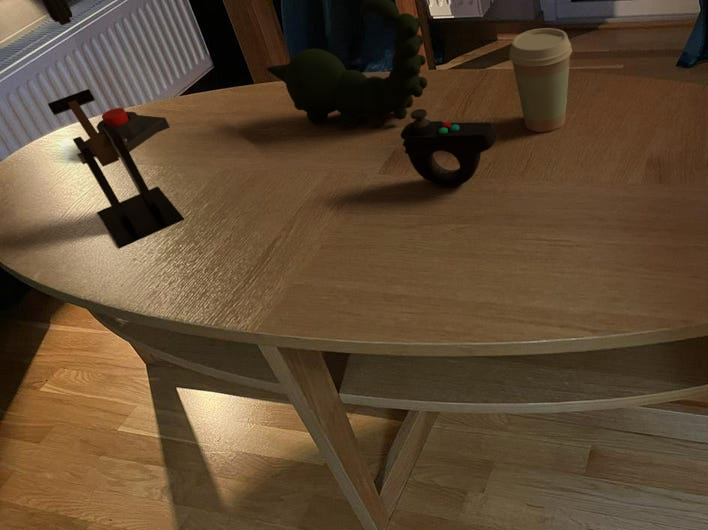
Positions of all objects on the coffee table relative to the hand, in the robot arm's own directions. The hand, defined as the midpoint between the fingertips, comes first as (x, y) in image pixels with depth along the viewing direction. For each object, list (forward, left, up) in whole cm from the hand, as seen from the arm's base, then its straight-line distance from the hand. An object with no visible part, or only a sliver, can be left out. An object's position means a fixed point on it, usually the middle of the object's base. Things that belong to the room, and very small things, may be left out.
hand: (65, 22), depth 103 cm
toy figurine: (+14, -37, -20) cm, 44 cm away
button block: (0, 0, -19) cm, 19 cm away
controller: (0, -61, -20) cm, 64 cm away
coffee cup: (+18, -67, -20) cm, 72 cm away
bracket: (-19, -21, -19) cm, 34 cm away
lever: (-16, -16, -8) cm, 24 cm away
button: (0, 0, -16) cm, 16 cm away
